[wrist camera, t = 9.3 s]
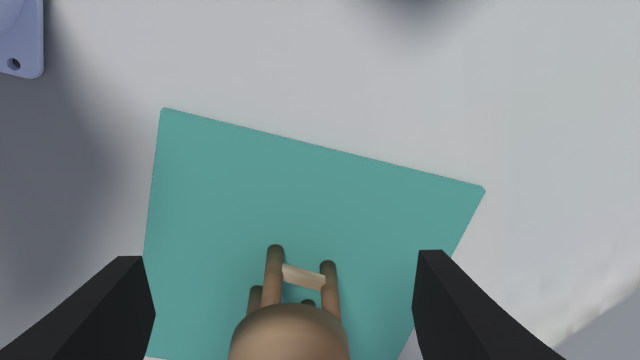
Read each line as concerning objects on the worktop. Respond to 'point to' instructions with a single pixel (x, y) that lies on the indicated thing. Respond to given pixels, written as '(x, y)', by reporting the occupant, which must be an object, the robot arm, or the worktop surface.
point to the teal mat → (286, 233)
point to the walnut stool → (291, 316)
